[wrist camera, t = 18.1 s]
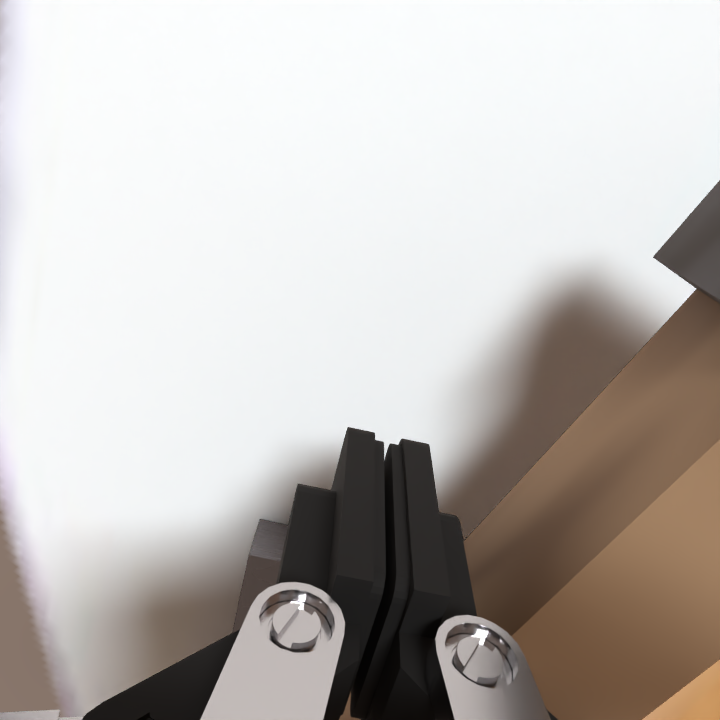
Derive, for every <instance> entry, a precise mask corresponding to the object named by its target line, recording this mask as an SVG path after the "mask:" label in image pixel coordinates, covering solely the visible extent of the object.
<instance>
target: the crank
mask: <svg viewBox="0 0 720 720" xmlns="http://www.w3.org/2000/svg"><path fill="white" fill-rule="evenodd" d="M653 258H655V259H656V260H658V261H659V262H660V263H662V264H663V265H665V266H666V267H667V268H669V269H670V270H672V271H673V272H674V273H676V274H677V275H678V276H680V277H681V278H683V279H684V280H685V281H687V282H688V283H690V284H691V285H692V286H694V287H695V288H697V289H696V290H695V291H694V293H693V294H692V295H691V296H690V297H689V298H688V299H687V300H686V301H685V302H684V303H683V304H682V306H681V307H680V308H679V309H678V310H677V311H676V312H675V313H674V314H673V315H672V316H671V317H670V318H669V320H668V321H667V322H666V323H665V324H664V325H663V326H662V327H661V328H660V329H659V330H658V331H657V333H656V334H655V335H654V336H653V337H652V338H651V339H650V340H649V341H648V342H647V343H646V344H645V346H644V347H643V348H642V349H641V350H640V351H639V352H638V353H637V354H636V355H635V356H634V357H633V359H632V360H631V361H630V362H629V363H628V364H627V365H626V366H625V367H624V368H623V369H622V370H621V372H620V373H619V374H618V375H617V376H616V377H615V378H614V379H613V380H612V381H611V382H610V383H609V385H608V386H607V387H606V388H605V389H604V390H603V391H602V392H601V393H600V394H599V395H598V396H597V398H596V399H595V400H594V401H593V402H592V403H591V404H590V405H589V406H588V407H587V408H586V409H585V411H584V412H583V413H582V414H581V415H580V416H579V417H578V418H577V419H576V420H575V421H574V422H573V424H572V425H571V426H570V427H569V428H568V429H567V430H566V431H565V432H564V433H563V434H562V435H561V437H560V438H559V439H558V440H557V441H556V442H555V443H554V444H553V445H552V446H551V447H550V448H549V450H548V451H547V452H546V453H545V454H544V455H543V456H542V457H541V458H540V459H539V460H538V461H537V463H536V464H535V465H534V466H533V467H532V468H531V469H530V470H529V471H528V472H527V473H526V474H525V476H524V477H523V478H522V479H521V480H520V481H519V482H518V483H517V484H516V485H515V486H514V487H513V489H512V490H511V491H510V492H509V493H508V494H507V495H506V496H505V497H504V498H503V499H502V500H501V502H500V503H499V504H498V505H497V506H496V507H495V508H494V509H493V510H492V511H491V512H490V513H489V515H488V516H487V517H486V518H485V519H484V520H483V521H482V522H481V523H480V524H479V525H478V526H477V528H476V529H475V530H474V531H473V532H472V533H471V534H470V535H469V536H468V537H467V538H466V539H465V541H464V542H463V543H464V548H465V553H466V559H467V564H468V570H469V575H470V580H471V586H472V591H473V597H474V602H475V607H476V613H477V617H481V618H484V619H486V620H488V621H490V622H493V623H495V624H496V625H498V626H499V627H501V628H502V629H503V630H505V631H506V632H507V633H508V634H509V635H510V636H511V637H512V638H513V639H514V640H515V641H516V642H517V643H518V645H519V647H520V649H521V650H522V652H523V654H524V656H525V658H526V660H527V663H528V665H529V668H530V670H531V672H532V675H533V677H534V680H535V682H536V685H537V687H538V690H539V692H540V694H541V697H542V699H543V702H544V704H545V707H546V709H547V710H548V711H549V712H550V713H551V714H552V715H554V716H555V717H556V718H557V719H558V720H642V719H643V718H644V717H646V716H647V715H648V714H650V713H651V712H652V711H654V710H655V709H656V708H657V707H659V706H660V705H661V704H663V703H664V702H665V701H666V700H668V699H669V698H670V697H672V696H673V695H674V694H676V693H677V692H678V691H679V690H681V689H682V688H683V687H685V686H686V685H687V684H688V683H690V682H691V681H692V680H694V679H695V678H696V677H698V676H699V675H700V674H701V673H703V672H704V671H705V670H707V669H708V668H709V667H710V666H712V665H713V664H714V663H716V662H717V661H718V660H720V181H719V182H718V183H717V184H716V185H715V186H714V188H713V189H712V190H711V191H710V192H709V193H708V195H707V196H706V197H705V198H704V199H703V200H702V201H701V203H700V204H699V205H698V206H697V207H696V208H695V209H694V211H693V212H692V213H691V214H690V215H689V216H688V217H687V219H686V220H685V221H684V222H683V223H682V224H681V226H680V227H679V228H678V229H677V230H676V231H675V232H674V234H673V235H672V236H671V237H670V238H669V239H668V240H667V242H666V243H665V244H664V245H663V246H662V247H661V248H660V250H659V251H658V252H657V253H656V254H655V255H654V257H653ZM350 701H351V692H350V695H349V698H348V701H347V704H346V707H345V710H344V713H343V715H341V716H340V719H339V720H361V719H359V718H353V717H351V715H350Z"/></svg>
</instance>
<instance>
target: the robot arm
mask: <svg viewBox="0 0 720 720" xmlns="http://www.w3.org/2000/svg"><path fill="white" fill-rule="evenodd" d="M350 692H351V701H350V715H351V717H353V718H359V719H361V720H558V719H557V718H556V717H555V716H554V715H552V714H551V713H550V712H549V711H548V710H547V709H546V707H545V704H544V702H543V699H542V697H541V694H540V692H539V690H538V687H537V685H536V682H535V680H534V677H533V675H532V672H531V670H530V668H529V665H528V663H527V660H526V658H525V656H524V654H523V652H522V650H521V649H520V647H519V645H518V643H517V642H516V641H515V640H514V639H513V638H512V637H511V636H510V635H509V634H508V633H507V632H506V631H505V630H503V629H502V628H501V627H499V626H498V625H496V624H495V623H493V622H490V621H488V620H486V619H484V618H481V617H477V613H476V607H475V602H474V597H473V591H472V586H471V580H470V575H469V570H468V564H467V559H466V553H465V548H464V543H463V537H462V532H461V526H460V522H459V519H458V517H457V516H455V515H450V514H445V513H440V512H439V510H438V503H437V496H436V489H435V482H434V474H433V467H432V460H431V453H430V447H429V445H428V444H425V443H421V442H416V441H411V440H406V439H401V440H400V443H399V445H395V444H390V445H389V447H388V450H387V453H386V457H385V460H384V442H382V441H377V440H375V433H374V432H369V431H364V430H359V429H355V428H350V427H348V428H347V431H346V435H345V438H344V442H343V446H342V450H341V454H340V458H339V462H338V466H337V469H336V473H335V477H334V481H333V485H332V489H331V490H327V489H322V488H317V487H312V486H307V485H303V484H298V485H297V489H296V493H295V498H294V502H293V507H292V511H291V515H290V520H289V524H288V529H287V534H286V538H285V543H284V548H283V552H282V557H281V562H280V567H279V572H278V577H277V582H276V585H274V586H271V587H268V588H267V589H266V590H264V591H263V592H261V593H260V594H259V595H258V596H257V597H256V599H255V600H254V602H253V603H252V605H251V607H250V609H249V611H248V614H247V616H246V618H245V620H244V623H243V625H242V627H241V629H239V630H237V631H236V632H234V633H232V634H230V635H228V636H226V637H224V638H222V639H221V640H219V641H217V642H215V643H213V644H211V645H209V646H207V647H206V648H204V649H202V650H200V651H198V652H196V653H194V654H192V655H191V656H189V657H187V658H185V659H183V660H181V661H179V662H177V663H176V664H174V665H172V666H170V667H168V668H166V669H164V670H163V671H161V672H159V673H157V674H155V675H153V676H151V677H149V678H148V679H146V680H144V681H142V682H140V683H138V684H136V685H134V686H133V687H131V688H129V689H127V690H125V691H123V692H121V693H119V694H118V695H116V696H114V697H112V698H110V699H108V700H106V701H104V702H103V703H101V704H100V705H98V706H97V707H96V708H94V709H93V710H91V711H90V712H88V713H87V714H86V715H85V716H81V717H63V718H60V710H41V711H23V712H3V713H0V720H339V719H340V716H341V715H343V713H344V710H345V707H346V704H347V701H348V698H349V695H350Z"/></svg>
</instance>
